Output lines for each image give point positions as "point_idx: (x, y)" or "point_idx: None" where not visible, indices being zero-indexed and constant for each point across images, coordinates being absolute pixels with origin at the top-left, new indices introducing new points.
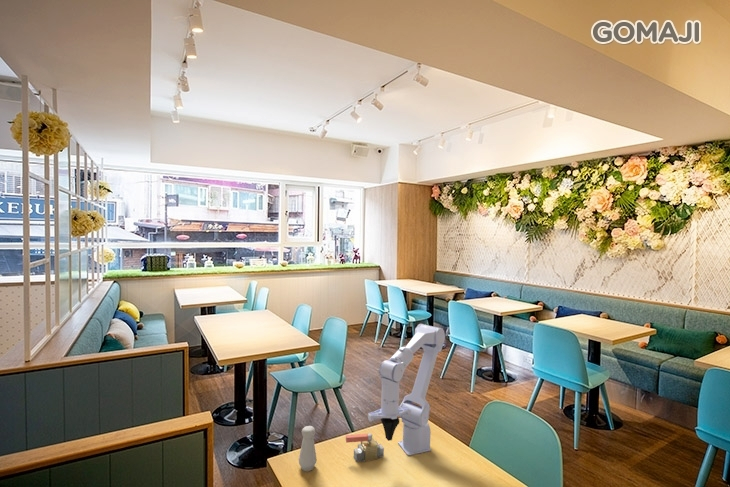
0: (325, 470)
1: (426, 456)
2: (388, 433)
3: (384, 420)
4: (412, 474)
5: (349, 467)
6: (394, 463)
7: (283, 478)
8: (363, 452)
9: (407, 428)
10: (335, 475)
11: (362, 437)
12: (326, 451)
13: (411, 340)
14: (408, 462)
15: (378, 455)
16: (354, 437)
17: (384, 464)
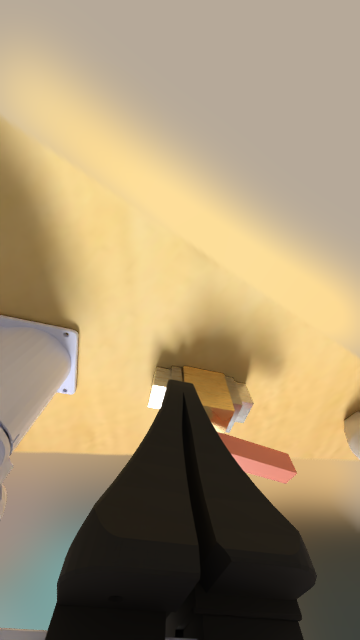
0: (336, 394)
1: (10, 294)
2: (207, 422)
3: (283, 608)
4: (122, 242)
5: (277, 375)
6: (145, 324)
7: None
8: (234, 398)
9: (9, 418)
10: (333, 368)
11: (239, 453)
12: (277, 445)
13: None
14: (96, 303)
15: (177, 373)
16: (269, 464)
17: (179, 336)
